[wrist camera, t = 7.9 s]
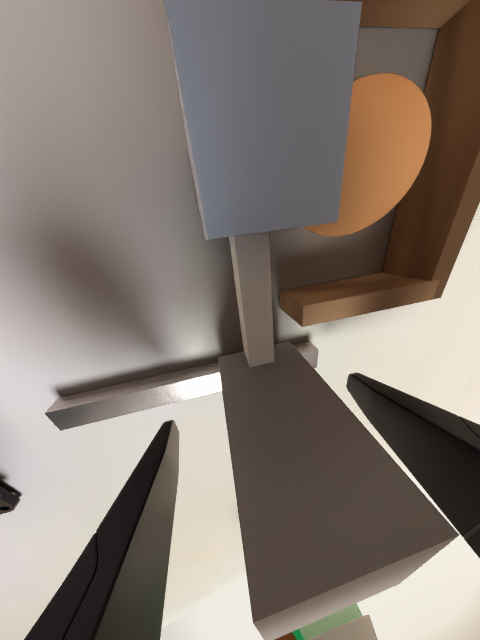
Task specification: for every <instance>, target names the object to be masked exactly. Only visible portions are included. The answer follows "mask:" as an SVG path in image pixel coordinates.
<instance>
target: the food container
mask: <svg viewBox="0 0 480 640" xmlns="http://www.w3.org/2000/svg"><path fill="white" fill-rule="evenodd" d="M275 640H377V637H376V634H375V631H374V628H373V625H372V622H371V619H370V616H369V615H365V616H362V614H361V612H360V610H359V608H358V605H357V603H355V604H353V605H351V606H348V607H346V608H344V609H342V610H339V611H337V612H335V613H333V614H331V615H328V616H326V617H324V618H322V619H319V620H317V621H315V622H313V623H310V624H308V625H306V626H304V627H301V628H299V629H297V630H295V631H292V632H290V633H288V634H286V635H283V636H281V637H279V638H277V639H275Z"/></svg>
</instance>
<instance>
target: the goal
mask: <svg viewBox="0 0 480 640" xmlns="http://www.w3.org/2000/svg"><path fill="white" fill-rule="evenodd" d="M332 1H354V2H362V7H361V16H360V25H359V26H360V27H402V28H439V32H438V36H437V41H436V45H435V49H434V53H433V58H432V62H431V66H430V70H429V75H428V79H427V83H426V87H425V92H424V96H425V97H426V100H427V102H428V106H429V109H430V113H431V122H432V124H431V137H430V142H429V147H428V151H427V154H426V157H425V160H424V163H423V165H422V167H421V169H420V172H419V174H418V176H417V177H416V179H415V181H414V182H413V184H412V186H411V187H410V189H409V190H408V191H407V193H406V194H405V195H404V197H403V198H402V199H401V200H400V201H399V202H398V207H397V211H396V215H395V219H394V224H393V228H392V232H391V236H390V241H389V245H388V249H387V253H386V258H385V262H384V266H383V270H382V273H377V274H371V275H366V276H360V277H355V278H349V279H343V280H338V281H332V282H327V283H321V284H316V285H310V286H305V287H299V288H294V289H288V290H283V291H280V308H281V309H282V310H283V311H284V312H285V313H287V314H288V315H289V316H290V317H291V318H292V319H294V320H295V321H296V322H297V323H298V324H299V325H301V326H302V327H305V326H309V325H314V324H319V323H323V322H328V321H333V320H338V319H342V318H347V317H352V316H356V315H361V314H366V313H371V312H375V311H380V310H385V309H390V308H394V307H399V306H404V305H408V304H413V303H418V302H423V301H427V300H432V299H437V298H441V296H442V293H443V291H444V288H445V286H446V283H447V281H448V279H449V276H450V274H451V271H452V269H453V266H454V264H455V261H456V259H457V256H458V254H459V251H460V249H461V247H462V244H463V242H464V239H465V237H466V234H467V232H468V229H469V227H470V224H471V222H472V219H473V217H474V215H475V212H476V210H477V207H478V205H479V202H480V0H332Z"/></svg>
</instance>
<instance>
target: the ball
mask: <svg viewBox="0 0 480 640" xmlns="http://www.w3.org/2000/svg"><path fill="white" fill-rule="evenodd" d="M431 124H432V122H431V113H430V109H429V106H428V102H427V100H426V97H425V96H424V94H423V92H422V91H421V89H420V88H419V87H418V86H417V85H416V84H415V83H414V82H413V81H411V80H409V79H407V78H405V77H403V76H401V75H397V74H393V73H380V74H374V75H369V76H365V77H363V78H360V79H357V80H355V81H353V88H352V97H351V106H350V115H349V124H348V133H347V142H346V151H345V161H344V170H343V179H342V188H341V197H340V206H339V215H338V222H334V223H327V224H320V225H313V226H305V228H306V229H308V230H309V231H311V232H313V233H316V234H319V235H322V236H343V235H348V234H352V233H355V232H357V231H360V230H362V229H364V228H366V227H368V226H370V225H372V224H373V223H375V222H376V221H378V220H379V219H381V218H382V217H383V216H384V215H386V214H387V213H388V212H389V211H390V210H391V209H392V208H393V207H394V206H396V205H397V203H398V202H399V201H400V200H401V199H402V198H403V197H404V195H405V194H406V193H407V191H408V190H409V189H410V187H411V186H412V184H413V182H414V181H415V179H416V177H417V176H418V174H419V172H420V169H421V167H422V165H423V163H424V160H425V157H426V154H427V151H428V147H429V142H430V137H431Z"/></svg>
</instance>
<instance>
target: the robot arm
mask: <svg viewBox="0 0 480 640" xmlns="http://www.w3.org/2000/svg"><path fill="white" fill-rule="evenodd" d="M346 386H347V389H348V391H349V392H350V394H351V395H352V397H353V398H354V400H355V401H356V403H357V404H358V406H359V407H360V409H361V410H362V412H363V413H364V415H365V416H366V417H367V419H368V420H369V421H370V423H371V424H372V425H373V426H374V428H375V429H376V430H377V431H378V433H379V434H380V435H381V436H382V437H383V439H384V440H385V441H386V442H387V444H388V445H389V446H390V447H391V449H392V450H393V451H394V452H395V454H396V455H397V456H398V457H399V459H400V460H401V461H402V462H403V464H404V465H405V466H406V467H407V468H408V470H409V471H410V472H411V473H412V475H413V476H414V477H415V478H416V480H417V481H418V482H419V483H420V485H421V486H422V487H423V488H424V489H425V491H426V492H427V493H428V494H429V496H430V497H431V498H432V499H433V501H434V502H435V503H436V504H437V506H438V507H439V508H440V509H441V510H442V512H443V513H444V514H445V516H446V517H447V518H448V519H449V521H450V522H451V523H452V524H453V525H454V527H455V528H456V529H457V530H458V532H459V533H460V534H461V535H462V536H463V537H464V539H465V541H466V542H467V543H468V544H469V546H470V547H471V548H472V549H473V550H474V552H475V553H476V554H477V555H478V557H479V558H480V425H479V424H476V423H474V422H472V421H469V420H467V419H465V418H462V417H460V416H457V415H455V414H453V413H451V412H448V411H446V410H444V409H441V408H439V407H437V406H434V405H432V404H430V403H427V402H425V401H423V400H420V399H418V398H416V397H413V396H411V395H409V394H406V393H404V392H402V391H399V390H397V389H395V388H392V387H390V386H388V385H385V384H383V383H381V382H378V381H376V380H374V379H371V378H369V377H367V376H364V375H362V374H360V373H352V374H349V375H348V380H347V385H346ZM178 471H179V431H178V428H177V426H176V424H175V422H174V420H170V421H166V422H164V423H163V424H162V426H161V428H160V429H159V431H158V432H157V434H156V436H155V437H154V439H153V440H152V442H151V444H150V445H149V447H148V448H147V450H146V452H145V453H144V455H143V456H142V458H141V460H140V461H139V463H138V464H137V466H136V468H135V469H134V471H133V472H132V474H131V476H130V477H129V479H128V480H127V482H126V484H125V485H124V487H123V489H122V490H121V492H120V493H119V495H118V497H117V498H116V500H115V501H114V503H113V505H112V506H111V508H110V509H109V511H108V513H107V514H106V516H105V517H104V519H103V521H102V522H101V524H100V525H99V527H98V529H97V531H96V533H95V534H94V535H93V536H92V538H91V540H90V541H89V543H88V544H87V546H86V548H85V549H84V551H83V552H82V554H81V556H80V557H79V559H78V560H77V562H76V563H75V565H74V566H73V568H72V570H71V571H70V573H69V574H68V576H67V577H66V579H65V580H64V582H63V583H62V585H61V586H60V588H59V589H58V591H57V592H56V594H55V595H54V597H53V598H52V600H51V601H50V603H49V604H48V606H47V607H46V609H45V610H44V611H43V613H42V614H41V616H40V617H39V619H38V620H37V622H36V623H35V625H34V626H33V627H32V629H31V630H30V632H29V633H28V635H27V636H26V638H25V639H24V640H160V635H161V634H160V633H161V626H162V617H163V608H164V599H165V590H166V581H167V572H168V564H169V555H170V546H171V537H172V528H173V519H174V510H175V502H176V493H177V484H178ZM19 502H20V499H19V498H18V497H17V496H15V495H14V494H12V493H10V492H9V491H7V490H6V489H4V488H3V487H1V486H0V514H3V513H7V512H10V511H13V510H14V509H15V507H16V506H17V505H18V503H19Z"/></svg>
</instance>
